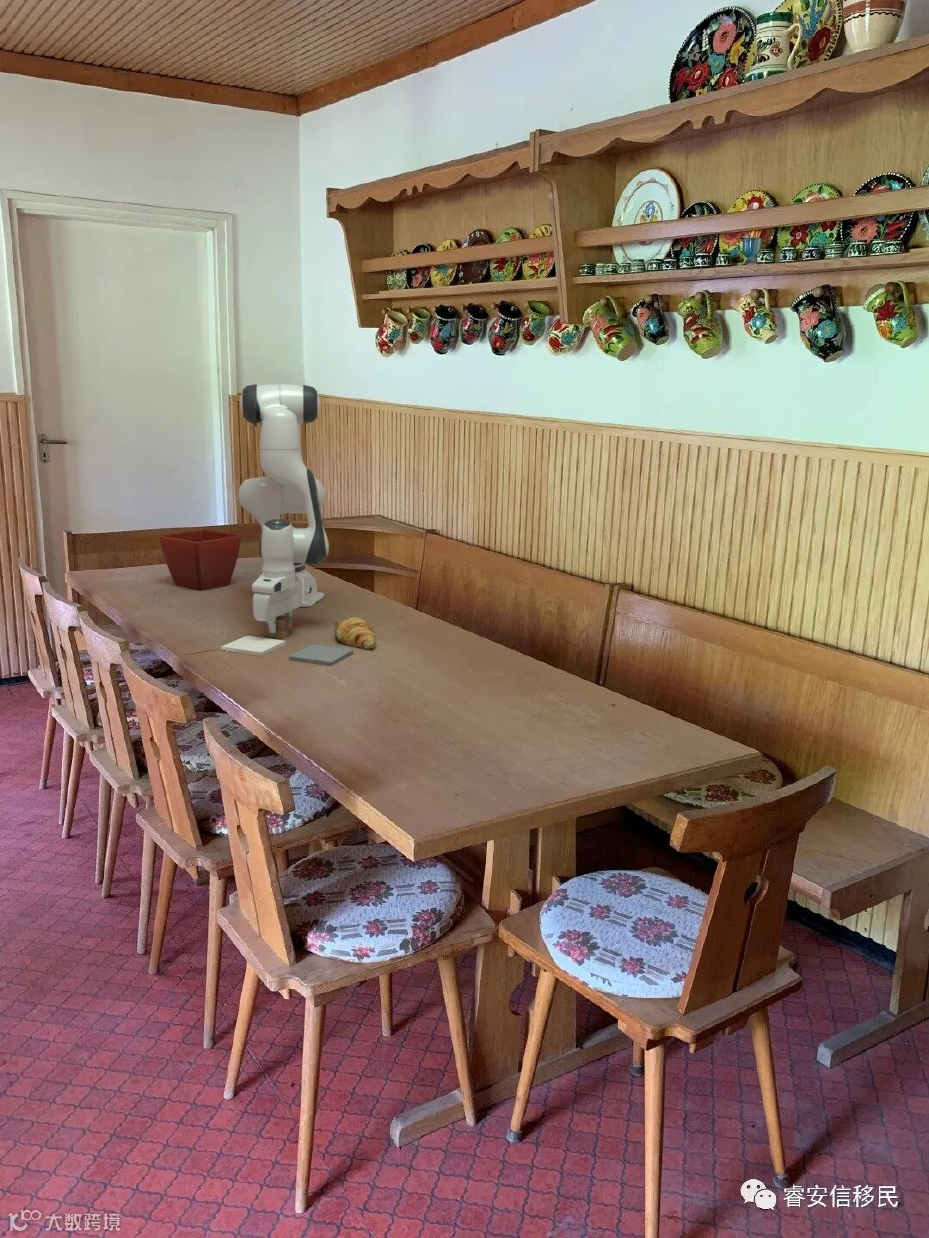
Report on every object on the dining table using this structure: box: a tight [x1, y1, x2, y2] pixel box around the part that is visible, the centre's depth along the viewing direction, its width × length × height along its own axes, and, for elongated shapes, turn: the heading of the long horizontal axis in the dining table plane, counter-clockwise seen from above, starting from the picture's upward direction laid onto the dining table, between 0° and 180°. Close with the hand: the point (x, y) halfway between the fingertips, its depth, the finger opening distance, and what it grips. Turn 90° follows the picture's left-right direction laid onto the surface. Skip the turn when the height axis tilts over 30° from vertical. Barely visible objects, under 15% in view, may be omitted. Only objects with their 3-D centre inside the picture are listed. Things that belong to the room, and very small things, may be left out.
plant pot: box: [159, 529, 242, 591], centre depth 332 cm, size 19×19×17 cm
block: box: [266, 615, 293, 640], centre depth 275 cm, size 5×5×5 cm
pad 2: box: [288, 643, 354, 667], centre depth 257 cm, size 12×12×1 cm
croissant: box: [333, 615, 377, 650], centre depth 272 cm, size 21×10×8 cm, turn 33°
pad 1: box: [220, 635, 287, 657], centre depth 264 cm, size 12×12×1 cm
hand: (279, 629), depth 276 cm, fingers closed on block, 5 cm apart
